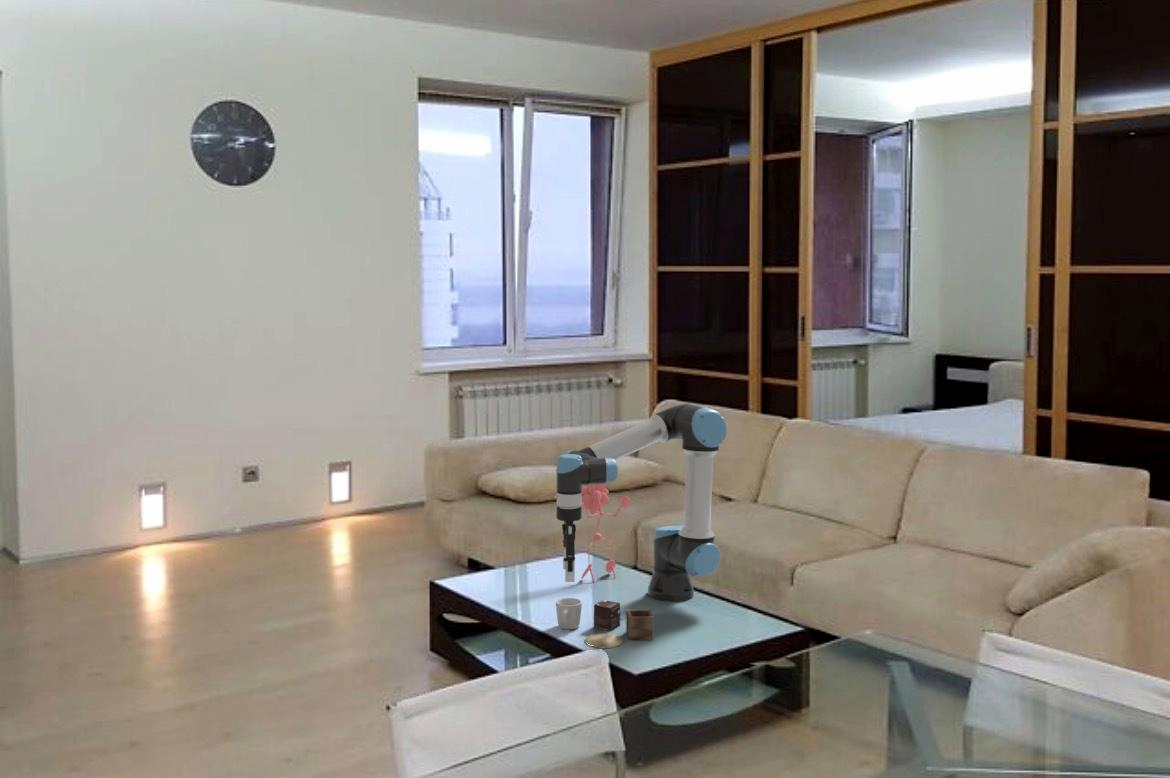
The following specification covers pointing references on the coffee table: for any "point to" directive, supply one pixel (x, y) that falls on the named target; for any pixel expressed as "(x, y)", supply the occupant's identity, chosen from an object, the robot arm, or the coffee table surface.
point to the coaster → (604, 640)
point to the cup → (568, 612)
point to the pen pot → (639, 625)
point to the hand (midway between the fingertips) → (568, 575)
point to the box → (606, 615)
